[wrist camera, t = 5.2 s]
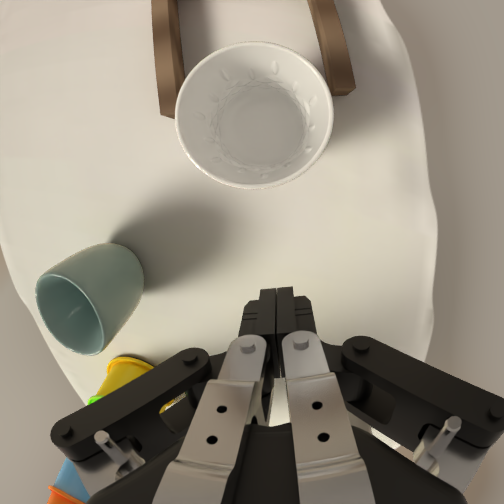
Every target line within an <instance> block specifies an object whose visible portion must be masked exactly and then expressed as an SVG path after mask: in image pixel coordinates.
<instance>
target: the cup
mask: <svg viewBox="0 0 504 504" xmlns="http://www.w3.org/2000/svg"><path fill="white" fill-rule="evenodd" d="M143 290H144V274H143V269H142V266H141V264H140V262H139V260H138V258H137V257H136V255H135V254H134V253H133V252H132V251H131V250H130V249H128V248H126V247H124V246H122V245H119V244H114V243H102V244H97V245H94V246H91V247H88V248H86V249H83V250H81V251H79V252H77V253H75V254H73V255H72V256H70V257H68V258H66V259H65V260H63V261H61V262H60V263H58V264H57V265H55V266H54V267H52V268H51V269H49V270H48V271H46V272H45V273H44V274H43V275H41V276H40V278H39V279H38V281H37V284H36V291H35V295H36V302H37V306H38V309H39V312H40V315H41V317H42V319H43V321H44V323H45V325H46V327H47V328H48V330H49V331H50V333H51V334H52V335H53V336H54V337H55V339H56V340H58V341H59V342H60V343H61V344H62V345H63V346H65V347H66V348H68V349H70V350H71V351H73V352H76V353H78V354H82V355H89V356H92V355H97V354H99V353H100V352H102V351H103V350H104V349H105V348H106V347H107V346H108V345H109V344H110V343H111V341H112V340H113V339H114V338H115V336H116V335H117V334H118V333H119V331H120V330H121V329H122V327H123V326H124V325H125V324H126V322H127V321H128V319H129V318H130V317H131V315H132V314H133V312H134V311H135V309H136V307H137V306H138V304H139V302H140V300H141V297H142V294H143Z"/></svg>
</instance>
